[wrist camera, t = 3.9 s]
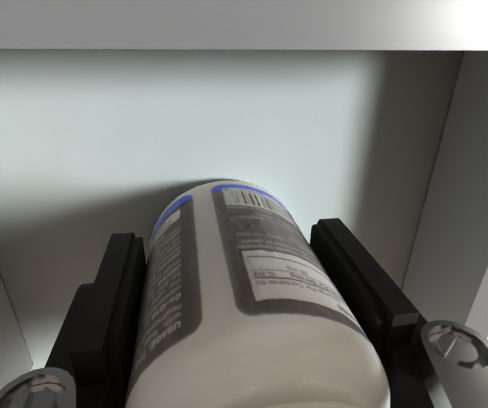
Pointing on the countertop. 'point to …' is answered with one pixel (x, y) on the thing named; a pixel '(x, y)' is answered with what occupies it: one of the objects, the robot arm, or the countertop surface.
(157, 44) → the bay
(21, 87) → the countertop surface
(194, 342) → the pill bottle
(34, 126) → the countertop surface
